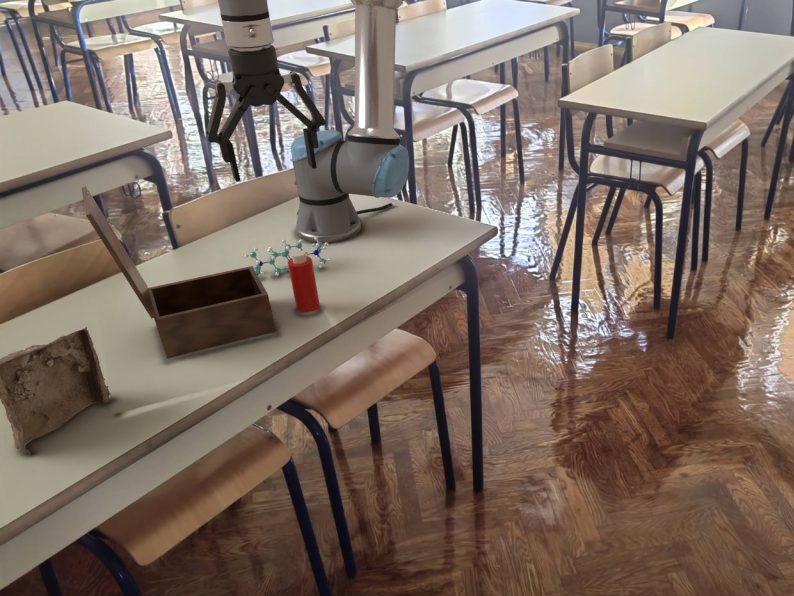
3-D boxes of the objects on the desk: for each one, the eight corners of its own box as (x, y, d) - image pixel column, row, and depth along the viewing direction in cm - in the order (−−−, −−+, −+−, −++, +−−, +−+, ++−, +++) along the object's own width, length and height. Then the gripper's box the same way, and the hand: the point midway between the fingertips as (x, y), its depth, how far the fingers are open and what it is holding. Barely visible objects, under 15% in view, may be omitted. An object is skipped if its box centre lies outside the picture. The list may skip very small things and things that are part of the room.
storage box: (261, 305, 155) (252, 265, 150) (276, 335, 145) (268, 294, 140) (158, 328, 148) (145, 288, 142) (168, 362, 138) (154, 320, 133)
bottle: (316, 302, 156) (306, 246, 148) (323, 312, 152) (313, 255, 145) (294, 307, 154) (283, 251, 147) (300, 318, 151) (289, 260, 143)
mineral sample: (28, 457, 117) (-12, 376, 108) (11, 450, 118) (-30, 369, 109) (118, 399, 129) (88, 322, 120) (101, 393, 130) (71, 316, 122)
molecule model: (247, 273, 167) (240, 242, 162) (326, 257, 173) (322, 228, 168) (253, 289, 161) (246, 258, 156) (335, 272, 167) (330, 242, 162)
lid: (85, 186, 129) (81, 187, 129) (90, 213, 119) (85, 215, 119) (147, 285, 142) (142, 287, 142) (156, 317, 133) (151, 318, 132)
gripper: (174, 59, 116) (207, 192, 129) (332, 42, 126) (348, 167, 138) (167, 50, 122) (199, 178, 134) (319, 34, 131) (336, 155, 144)
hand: (275, 172), depth 136 cm, fingers open, 13 cm apart
